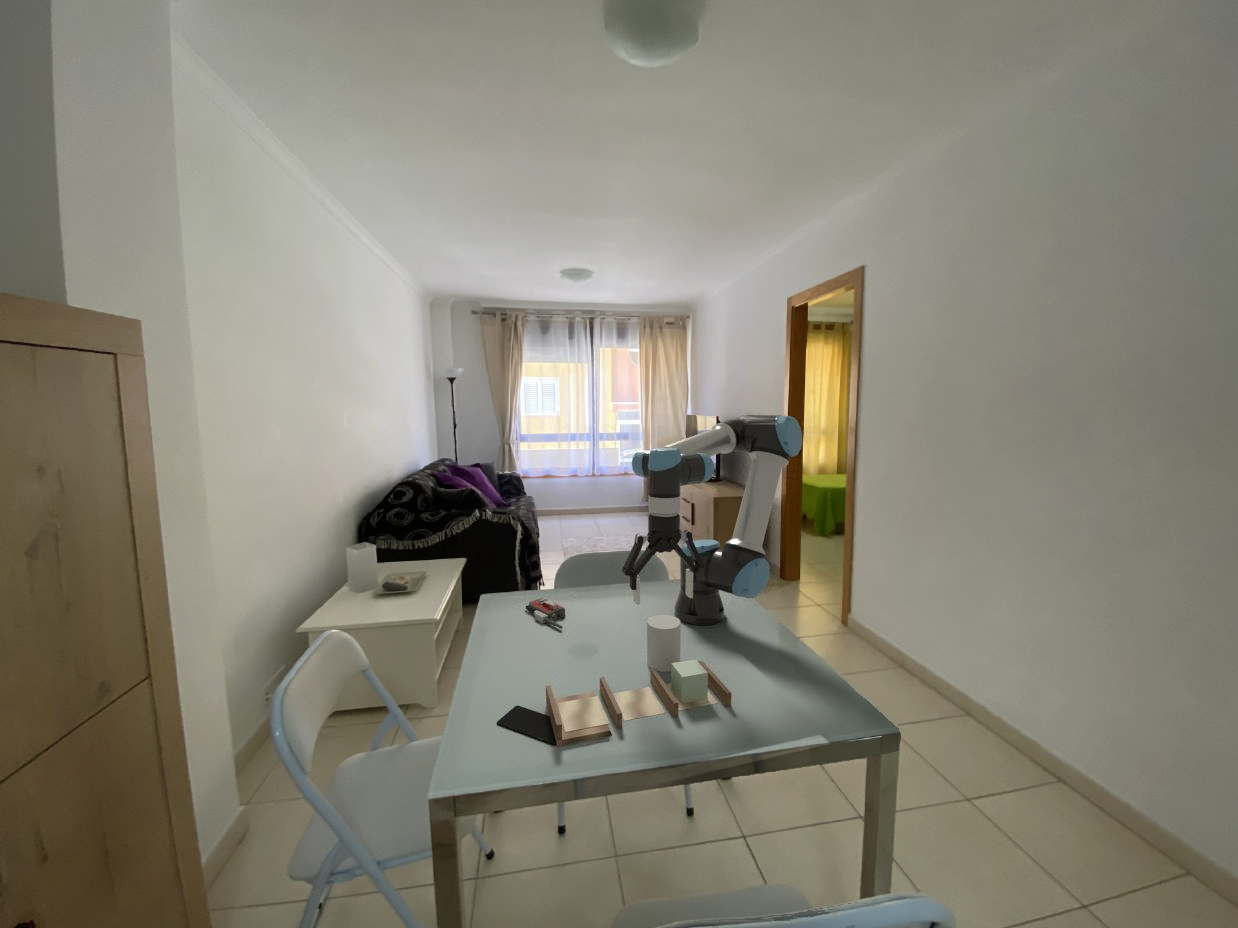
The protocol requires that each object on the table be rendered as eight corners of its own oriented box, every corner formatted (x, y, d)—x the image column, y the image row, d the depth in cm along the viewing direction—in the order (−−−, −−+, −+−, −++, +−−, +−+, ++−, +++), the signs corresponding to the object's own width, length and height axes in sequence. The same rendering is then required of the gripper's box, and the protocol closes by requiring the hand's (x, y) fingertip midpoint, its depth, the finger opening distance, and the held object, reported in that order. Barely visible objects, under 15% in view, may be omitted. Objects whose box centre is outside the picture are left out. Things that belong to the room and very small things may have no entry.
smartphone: (555, 744, 97) (494, 722, 104) (555, 748, 97) (495, 726, 104) (575, 723, 103) (516, 704, 110) (575, 727, 103) (516, 707, 110)
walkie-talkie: (519, 612, 159) (558, 633, 145) (519, 599, 159) (558, 618, 145) (542, 605, 165) (582, 623, 151) (542, 592, 165) (582, 609, 151)
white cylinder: (683, 662, 128) (683, 617, 126) (676, 679, 120) (676, 630, 119) (651, 657, 130) (652, 612, 129) (643, 673, 123) (643, 626, 121)
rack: (701, 677, 120) (702, 660, 120) (731, 712, 107) (731, 692, 107) (546, 704, 110) (545, 685, 110) (557, 746, 97) (556, 725, 96)
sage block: (695, 684, 116) (696, 659, 115) (707, 698, 110) (707, 672, 109) (671, 688, 114) (671, 663, 113) (681, 703, 108) (682, 676, 107)
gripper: (704, 507, 128) (703, 588, 130) (609, 513, 121) (609, 599, 123) (719, 513, 120) (717, 599, 123) (618, 520, 113) (618, 611, 116)
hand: (663, 599), depth 123 cm, fingers open, 13 cm apart
